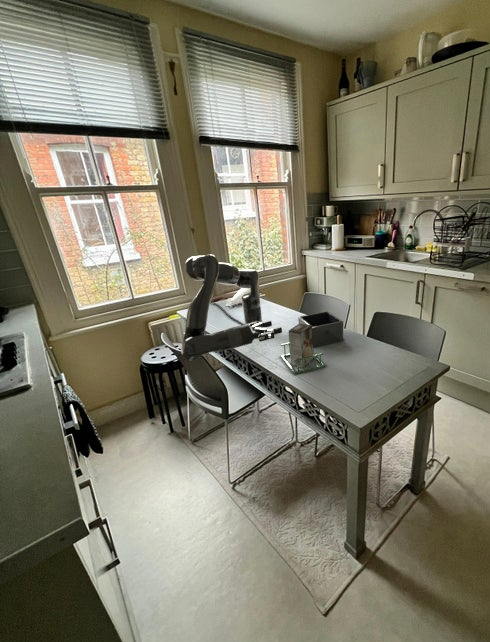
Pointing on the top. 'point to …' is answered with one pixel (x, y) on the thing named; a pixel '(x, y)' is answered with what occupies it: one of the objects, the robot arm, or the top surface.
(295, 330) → the coffee box
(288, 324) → the top surface
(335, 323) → the grey open box
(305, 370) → the dish rack
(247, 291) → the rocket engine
